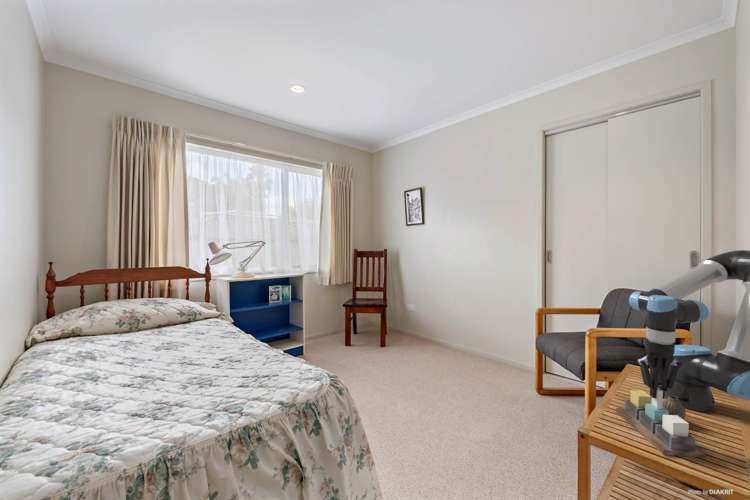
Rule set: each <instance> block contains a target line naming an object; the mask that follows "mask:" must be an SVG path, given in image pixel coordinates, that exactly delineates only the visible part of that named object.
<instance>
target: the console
mask: <svg viewBox="0 0 750 500" xmlns="http://www.w3.org/2000/svg"><path fill="white" fill-rule="evenodd" d="M615 412H616V413H617V414H619V416H621V417H622V418H623V420H625V421H626V422H627V423H628V424H629V425H630V426H631V427H633V428H634V430H636V431H637V432H638V433H639V434H640V435H641V436H643V438H645V439H646V440H647V441H648V442H649V443H650V445H652V446H653V447H654V446H655V447H656V448H657V449H656V448H655V447H654V448H655V449H656V450H658V451H659V452H660V454H662V455H663V456H675V455H676V456H677V457H694V458H706V457H707V452H706V451H704V450H703V449H702V448H700V447H699V446H698V445H697V444H696V441H697V440H696V438H695V437H694V436H693V435H691V434H690V433H689V432H688V437H681V436H672V435H671V434H669V433H668V432H667V431H666V430H664V429H663V428H662V422H663V421H653V420H652V419H651V418H650V417H649V416H647V415H646V414H645V408H638V407H636V406H635V405H634V404H633V403H631V402H630V398H625V399H624V407H615Z"/></svg>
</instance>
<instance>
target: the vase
mask: <svg viewBox="0 0 750 500" xmlns="http://www.w3.org/2000/svg"><path fill="white" fill-rule="evenodd" d="M662 407H664V408H665V409H667V410H668V411H669V415H678V416H679V417H680V418H682V419H683V420H685V419H686V417H687V414H686V412H687V411H686V408H684V406H683V405H682V404H681V403H680V401H679V400H678V398H677V397H675V396H669V397H668V398H667V399H666V398H664V400H662Z"/></svg>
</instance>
